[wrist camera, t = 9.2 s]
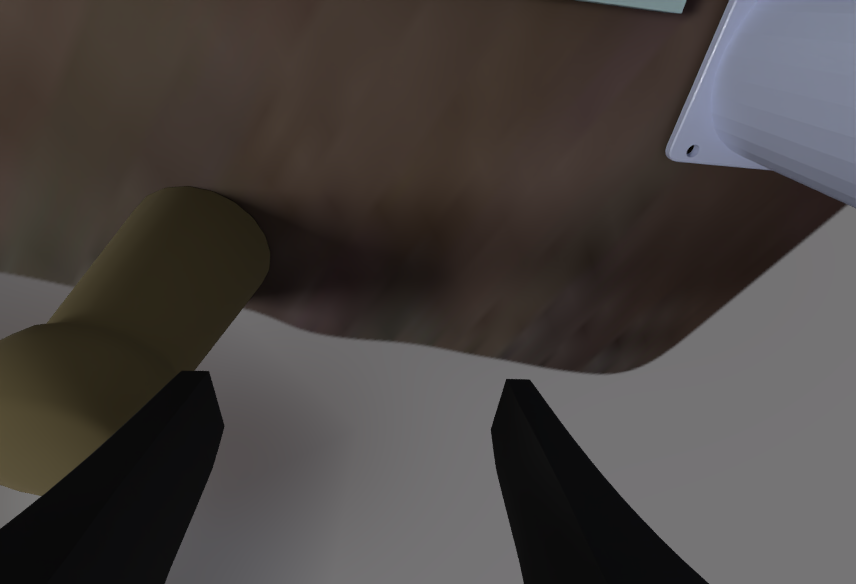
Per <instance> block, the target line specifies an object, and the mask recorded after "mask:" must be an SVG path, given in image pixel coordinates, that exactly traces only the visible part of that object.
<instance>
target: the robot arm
mask: <svg viewBox="0 0 856 584" xmlns="http://www.w3.org/2000/svg"><path fill="white" fill-rule="evenodd" d="M692 145H694V148H693V150H692V151H691V152H690V153H689V154H686V153H687V150H688V149H689V147H691V146H692ZM665 152H666V156H667V157H668V158H669V159H671V160H673V161H676V162H686V163H697V164H708V165H719V166H730V167H741V168H752V169H763V170H773V171H775V172H777V173H779V174H782V175H784V176H786V177H788V178H790V179H793V180H795V181H797V182H799V183H801V184H804V185H806V186H808V187H810V188H812V189H815V190H817V191H819V192H821V193H823V194H826V195H828V196H830V197H832V198H834V199H837V200H839V201H841V202H843V203H845V204H848V205H850V206H852V207H854V208H856V0H729V2H728V4H727V7H726V9H725V11H724V14H723V16H722V18H721V21H720V23H719V25H718V28H717V30H716V32H715V35H714V37H713V39H712V42H711V44H710V46H709V49H708V51H707V53H706V56H705V58H704V60H703V63H702V65H701V67H700V70H699V72H698V74H697V77H696V79H695V81H694V84H693V86H692V88H691V91H690V93H689V95H688V98H687V100H686V102H685V105H684V107H683V109H682V112H681V114H680V116H679V119H678V121H677V123H676V126H675V128H674V130H673V133H672V135H671V137H670V139H669V142H668V144H667V146H666V151H665ZM223 429H224V423H223V419H222V416H221V412H220V409H219V405H218V402H217V398H216V395H215V391H214V387H213V384H212V381H211V377H210V374H209V371H181V372H179V373H178V374H177V375H176V376H175V377H174V378H173V379H172V380H171V381H169V382H168V383H167V384H166V385H165V386H164V387H163V388H162V389H161V390H160V391H159V392H158V393H157V394H156V395H155V396H154V397H153V398H152V399H151V400H149V401H148V402H147V403H146V404H145V405H144V406H143V407H142V408H141V409H140V410H139V411H138V412H137V413H136V414H135V415H134V416H132V417H131V418H130V419H129V420H128V421H127V422H126V423H125V424H124V425H123V426H122V427H121V428H119V429H118V430H117V431H116V432H115V433H114V434H113V435H112V436H111V437H110V438H108V439H107V440H106V441H105V442H104V443H103V444H102V445H101V446H100V447H99V448H97V449H96V450H95V451H94V452H93V453H92V454H91V455H90V456H88V457H87V458H86V459H85V460H84V461H83V462H82V463H80V464H79V465H78V466H77V467H76V468H74V469H73V470H72V471H71V472H70V473H69V474H67V475H66V476H65V477H64V478H63V479H61V480H60V481H59V482H58V483H57V484H56V485H54V486H53V487H52V488H51V489H50V490H48V491H47V492H46V493H45V494H44V495H42V496H41V497H40V498H39V499H38V500H36V501H35V502H34V503H33V504H31V505H30V506H29V507H28V508H26V509H25V510H24V511H23V512H21V513H20V514H19V515H17V516H16V517H15V518H14V519H12V520H11V521H10V522H9V523H7V524H6V525H5V526H3V527H2V528H1V529H0V584H165V581H166V578H167V576H168V573H169V571H170V568H171V566H172V564H173V561H174V559H175V556H176V554H177V551H178V549H179V547H180V545H181V542H182V540H183V538H184V535H185V533H186V530H187V528H188V526H189V523H190V521H191V519H192V516H193V514H194V512H195V509H196V507H197V505H198V502H199V499H200V497H201V495H202V492H203V490H204V488H205V485H206V483H207V481H208V478H209V475H210V473H211V471H212V468H213V465H214V462H215V458H216V454H217V452H218V448H219V444H220V441H221V437H222V434H223ZM491 434H492V442H493V450H494V458H495V465H496V470H497V475H498V479H499V483H500V487H501V491H502V495H503V499H504V503H505V507H506V511H507V515H508V519H509V523H510V527H511V530H512V535H513V538H514V542H515V546H516V550H517V554H518V558H519V562H520V567H521V572H522V576H523V581H524V584H709V583H707V582H706V581H705V580H704V579H703V578H702V577H701V576H700V575H699V574H698V573H697V572H695V571H694V570H693V569H692V568H691V567H690V566H689V565H688V564H687V563H685V562H684V561H683V560H682V559H681V558H680V557H679V556H678V555H677V554H676V553H675V552H674V551H673V550H672V549H671V548H670V547H669V546H668V545H667V544H666V543H665V542H664V541H663V540H662V539H661V538H660V537H659V536H658V535H657V534H656V533H655V532H654V531H653V530H652V529H651V528H650V527H649V526H648V525H647V524H646V523H645V522H644V521H643V520H642V519H641V518H640V516H638V514H637V513H636V512H635V511H634V510H633V509H632V508H631V507H630V506H629V505H628V503H627V502H626V501H625V500H624V499H623V498H622V497H621V496H620V495H619V494H618V492H617V491H616V490H615V489H614V488H613V486H612V485H611V484H610V483H609V482H608V481H607V480H606V478H605V477H604V476H603V475H602V474H601V472H600V471H599V470H598V469H597V468H596V466H595V465H594V464H593V463H592V462H591V460H590V459H589V458H588V456H587V455H586V454H585V453H584V451H583V450H582V449H581V448H580V446H579V445H578V444H577V443H576V441H575V440H574V439H573V438H572V436H571V435H570V434H569V432H568V431H567V430H566V428H565V427H564V426H563V424H562V423H561V422H560V420H559V419H558V418H557V416H556V415H555V414H554V412H553V411H552V409H551V408H550V407H549V405H548V404H547V403H546V401H545V400H544V398H543V397H542V396H541V394H540V393H539V391H538V390H537V389H536V387H535V386H534V385H533V383H532V382H531V381H530V380H525V379H506V382H505V385H504V388H503V392H502V395H501V398H500V401H499V405H498V408H497V411H496V414H495V417H494V421H493V424H492V427H491Z"/></svg>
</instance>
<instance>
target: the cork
mask: <svg viewBox="0 0 856 584" xmlns="http://www.w3.org/2000/svg"><path fill="white" fill-rule="evenodd" d="M269 267H270V250H269V247H268V244H267V241H266V237H265V235H264V233H263V232H262V230H261V229H260V227H259V226H258V225H257V223H256V222H255V220H254V219H253V217H251V216H250V215H249V214H248V213H247V212H245V211H244V210H243V209H242V208H241V207H240V206H238V205H237V204H236V203H235V202H233V201H231V200H229V199H227V198H225V197H223V196H221V195H219V194H217V193H215V192H213V191H208V190H204V189H199V188H194V187H190V186H184V187H170V188H164V189H162V190H159V191H157V192H155V193H153V194H150V195H148V196H147V197H146V198H145V199H144V200H143V201H142V202H141V203H140V204H139V205H138V207H137V208H136V209H135V210H134V211H133V212H132V214H131V215H130V216H129V218H128V219H127V220H126V222H125V223H124V224H123V225H122V227H121V228H120V229H119V231H118V232H117V233H116V234H115V236H114V237H113V238H112V240H111V241H110V242H109V243H108V245H107V246H106V247H105V249H104V250H103V251H102V253H101V254H100V255H99V256H98V258H97V259H96V260H95V262H94V263H93V264H92V265H91V267H90V268H89V269H88V271H87V272H86V273H85V274H84V276H83V277H82V278H81V280H80V281H79V282H78V284H77V285H76V286H75V287H74V289H73V290H72V291H71V293H70V294H69V295H68V296H67V298H66V299H65V300H64V302H63V303H62V304H61V305H60V307H59V308H58V309H57V311H56V312H55V313H54V315H53V316H52V317H51V318H50V320H49V321H48V322H47V324H40V325H34V326H32V327H29V328H26V329H24V330H21V331H19V332H17V333H14V334H12V335H10V336H8V337H6V338H4V339H2V340H0V485H3V486H5V487H8V488H11V489H14V490H17V491H20V492H25V493H30V494H35V495H40V496H42V495H44V494H45V493H46V492H47V491H48V490H50V489H51V488H52V487H53V486H54V485H56V484H57V483H58V482H59V481H60V480H61V479H63V478H64V477H65V476H66V475H67V474H69V473H70V472H71V471H72V470H73V469H74V468H76V467H77V466H78V465H79V464H80V463H82V462H83V461H84V460H85V459H86V458H87V457H88V456H90V455H91V454H92V453H93V452H94V451H95V450H96V449H97V448H99V447H100V446H101V445H102V444H103V443H104V442H105V441H106V440H107V439H108V438H110V437H111V436H112V435H113V434H114V433H115V432H116V431H117V430H118V429H119V428H121V427H122V426H123V425H124V424H125V423H126V422H127V421H128V420H129V419H130V418H131V417H132V416H134V415H135V414H136V413H137V412H138V411H139V410H140V409H141V408H142V407H143V406H144V405H145V404H146V403H147V402H148V401H149V400H151V399H152V398H153V397H154V396H155V395H156V394H157V393H158V392H159V391H160V390H161V389H162V388H163V387H164V386H165V385H166V384H167V383H168V382H169V381H171V380H172V379H173V378H174V377H175V376H176V375H177V374H178V373H179V372H181V371H195V369H196V368H197V366H198V365H199V364H200V363H201V361H202V360H203V359H204V358H205V356H206V355H207V354H208V352H209V351H210V350H211V349H212V347H213V346H214V345H215V343H216V342H217V341H218V340H219V338H220V337H221V335H222V334H223V333H224V332H225V331H226V329H227V328H228V326H229V325H230V324H231V323H232V321H233V320H234V319H235V318H236V316H237V315H238V314H239V313H240V311H241V310H242V309H243V307H244V306H245V305H246V304H247V302H248V301H249V300H250V298H251V297H252V296H253V294H254V293H255V292H256V291H257V289H258V288H259V287H260V285H261V284H262V283H263V281H264V279H265V277H266V275H267V273H268V271H269Z"/></svg>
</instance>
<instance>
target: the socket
mask: <svg viewBox="0 0 856 584" xmlns="http://www.w3.org/2000/svg"><path fill="white" fill-rule="evenodd" d="M576 1H583V2H591V3H598V4H605V5H613V6H620V7H627V8H635V9H642V10H650V11H657V12H664V13H682V11H683V8H684V6H685V3H686V0H576Z"/></svg>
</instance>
